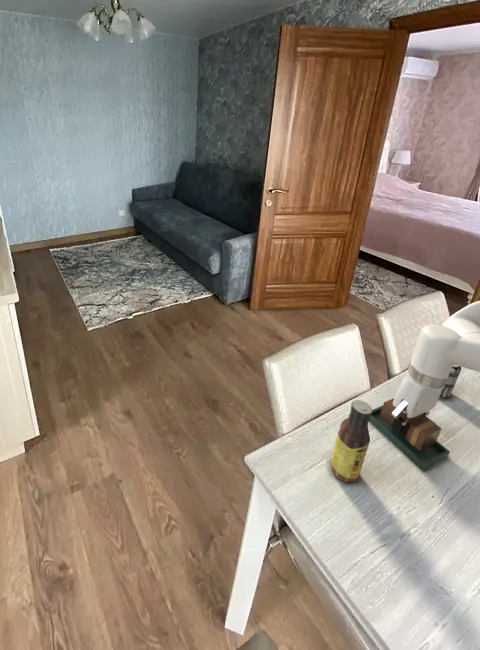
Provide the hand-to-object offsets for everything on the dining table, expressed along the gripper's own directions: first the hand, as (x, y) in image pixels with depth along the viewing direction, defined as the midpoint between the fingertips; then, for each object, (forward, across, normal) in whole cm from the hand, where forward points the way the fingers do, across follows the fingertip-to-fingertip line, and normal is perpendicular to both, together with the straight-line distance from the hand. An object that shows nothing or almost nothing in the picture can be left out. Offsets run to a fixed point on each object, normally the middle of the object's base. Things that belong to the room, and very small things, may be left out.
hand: (407, 427), depth 89 cm
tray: (+3, 0, 0) cm, 3 cm away
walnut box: (+1, 0, 0) cm, 1 cm away
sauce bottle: (+3, +22, +1) cm, 22 cm away
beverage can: (+3, -24, -7) cm, 25 cm away
